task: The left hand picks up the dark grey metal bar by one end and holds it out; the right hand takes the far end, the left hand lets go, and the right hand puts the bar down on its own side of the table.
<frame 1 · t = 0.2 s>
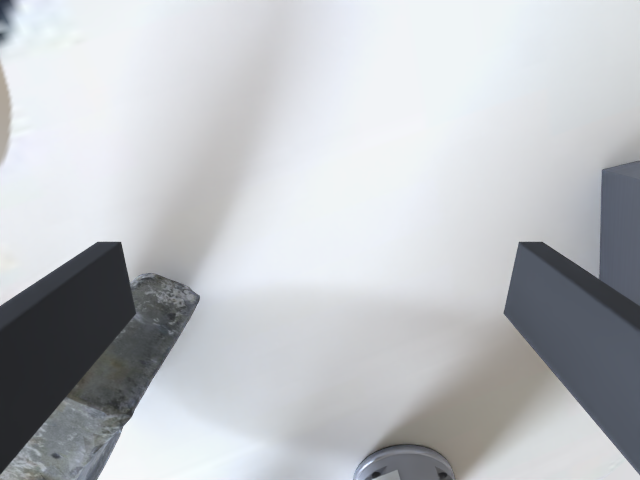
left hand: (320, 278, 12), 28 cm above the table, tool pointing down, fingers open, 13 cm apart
concrete block: (139, 343, 47), on the table
bar: (624, 270, 43), on the table
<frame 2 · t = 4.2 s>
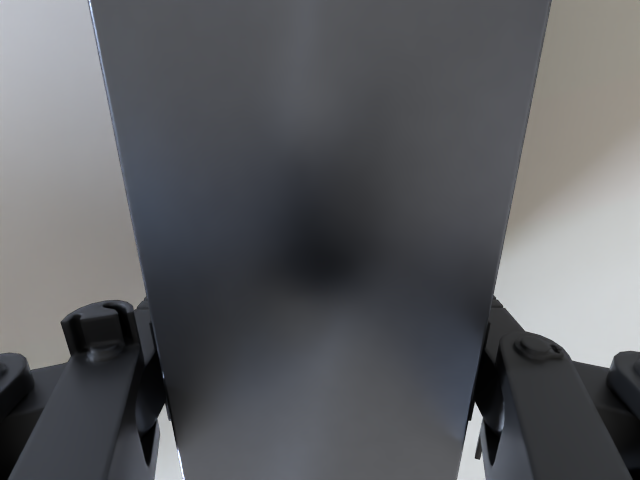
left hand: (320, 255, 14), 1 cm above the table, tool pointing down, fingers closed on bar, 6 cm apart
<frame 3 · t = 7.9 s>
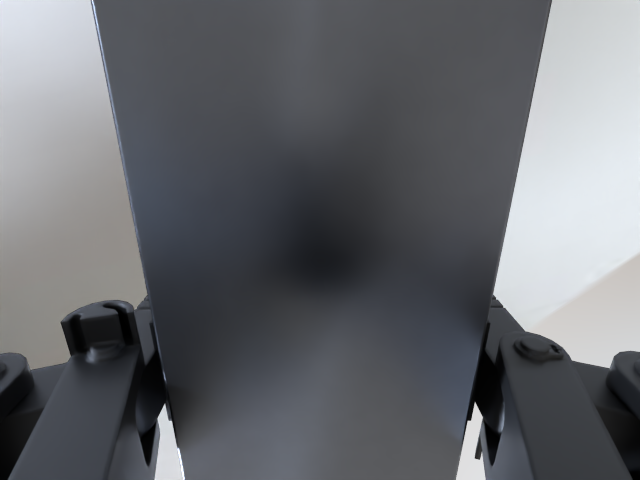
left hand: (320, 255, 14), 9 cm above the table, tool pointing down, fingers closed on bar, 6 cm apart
when the left hand's fingers open (9 cm above the table, at t = 8.9 s): bar stays where it is, held by the right hand.
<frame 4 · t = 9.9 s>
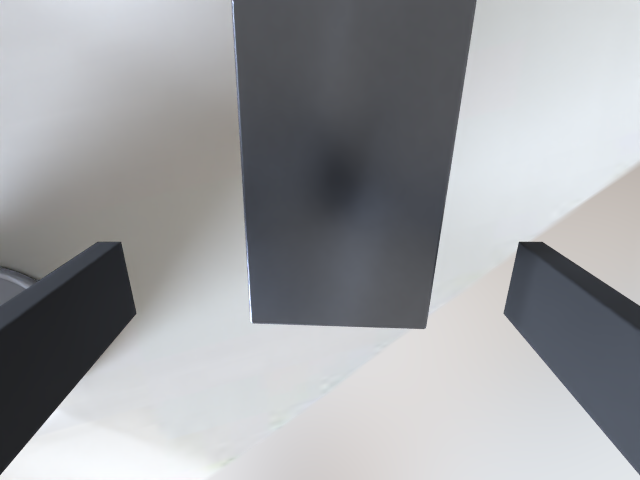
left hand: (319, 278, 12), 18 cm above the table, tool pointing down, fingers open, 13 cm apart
when the right hand's fingers open (5 cm above the table, at t = 15.4 s): bar drops 2 cm, on the table.
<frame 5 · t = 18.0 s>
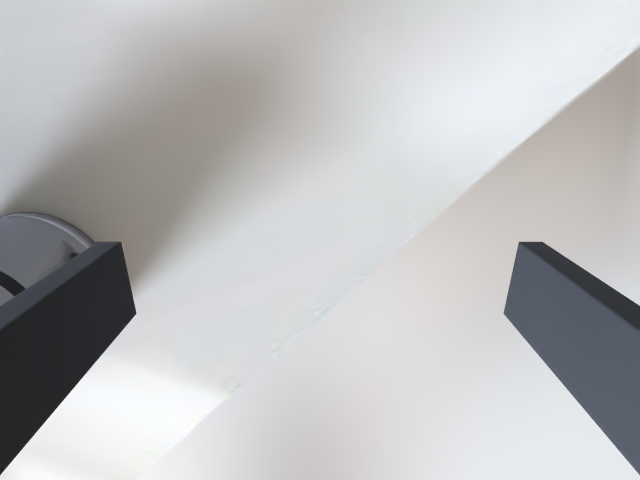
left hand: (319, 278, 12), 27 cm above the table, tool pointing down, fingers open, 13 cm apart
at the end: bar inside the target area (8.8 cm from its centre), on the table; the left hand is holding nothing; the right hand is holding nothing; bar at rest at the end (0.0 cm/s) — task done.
